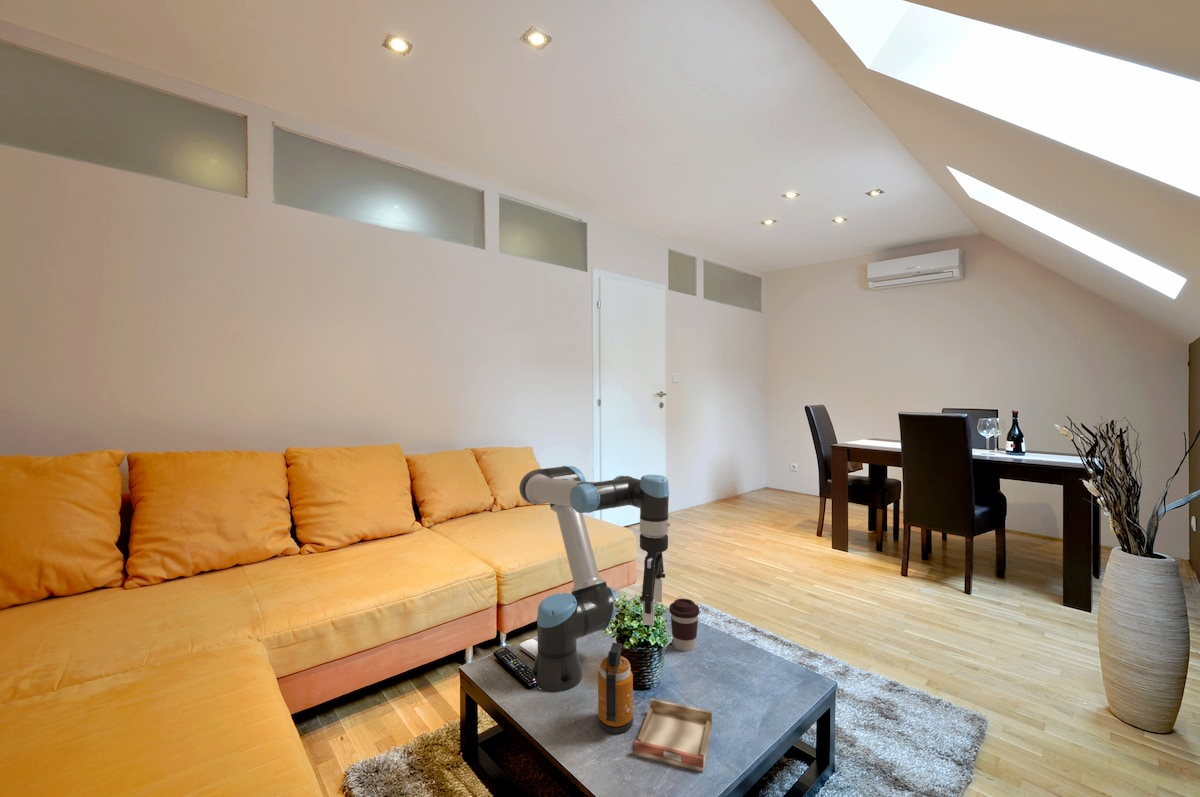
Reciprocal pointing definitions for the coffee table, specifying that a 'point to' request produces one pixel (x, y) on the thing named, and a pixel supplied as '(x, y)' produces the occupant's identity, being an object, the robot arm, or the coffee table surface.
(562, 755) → the coffee table surface
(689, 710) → the wooden serving tray
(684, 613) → the coffee cup
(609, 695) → the canister
